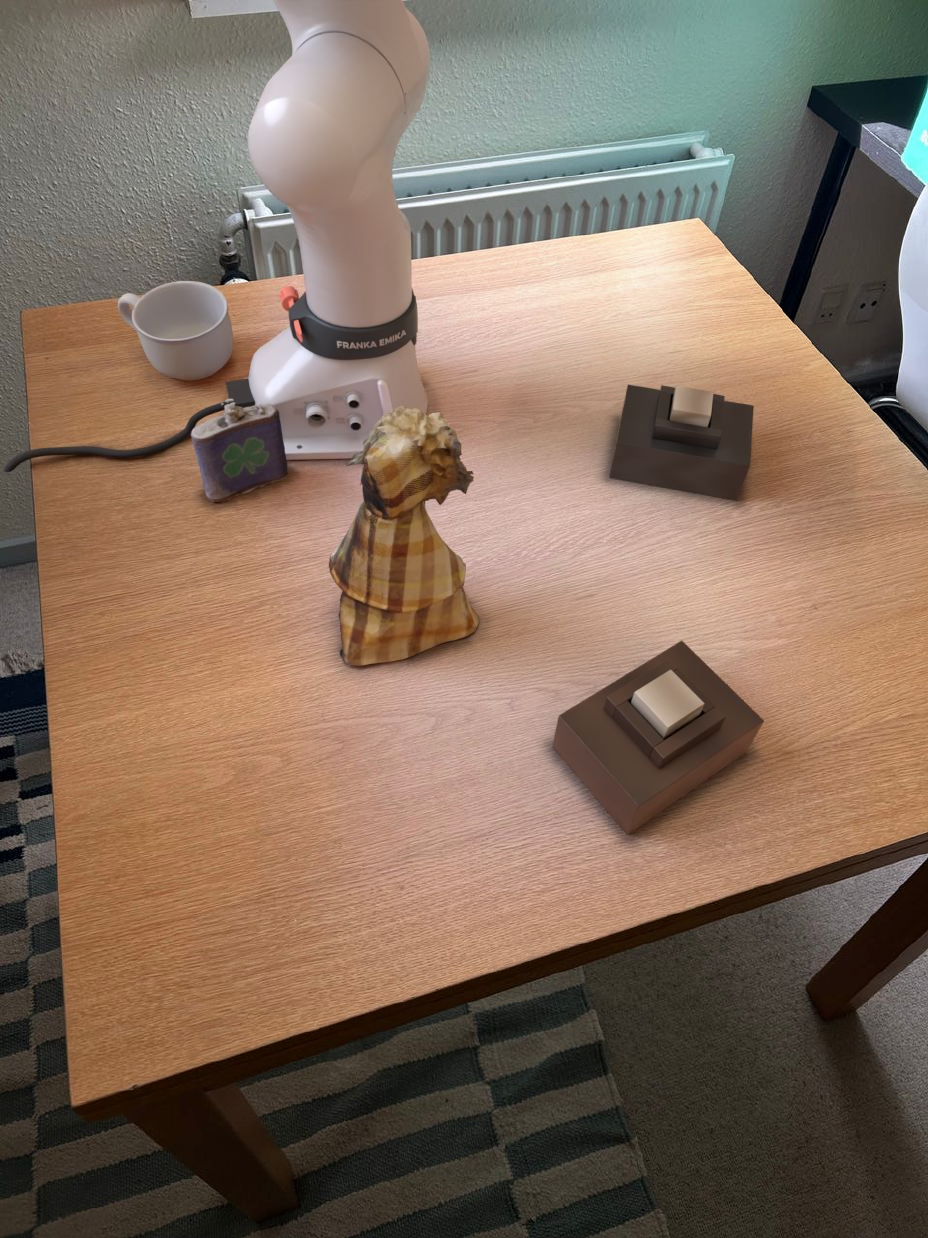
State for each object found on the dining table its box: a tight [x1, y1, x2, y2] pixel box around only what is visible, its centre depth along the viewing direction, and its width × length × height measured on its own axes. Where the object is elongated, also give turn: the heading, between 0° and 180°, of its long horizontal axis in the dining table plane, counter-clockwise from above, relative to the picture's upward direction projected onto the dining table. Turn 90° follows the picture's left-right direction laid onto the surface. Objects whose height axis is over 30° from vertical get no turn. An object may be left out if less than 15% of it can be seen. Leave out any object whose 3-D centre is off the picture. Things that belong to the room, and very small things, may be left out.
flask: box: [190, 398, 290, 503], centre depth 94 cm, size 9×3×11 cm, turn 121°
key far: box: [669, 385, 714, 427], centre depth 97 cm, size 4×4×2 cm
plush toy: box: [328, 406, 481, 667], centre depth 79 cm, size 14×14×25 cm
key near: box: [631, 670, 704, 738], centre depth 74 cm, size 4×4×2 cm
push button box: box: [551, 640, 765, 836], centre depth 77 cm, size 14×10×7 cm
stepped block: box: [608, 384, 755, 502], centre depth 100 cm, size 14×10×7 cm
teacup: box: [117, 280, 234, 381], centre depth 108 cm, size 14×11×8 cm
